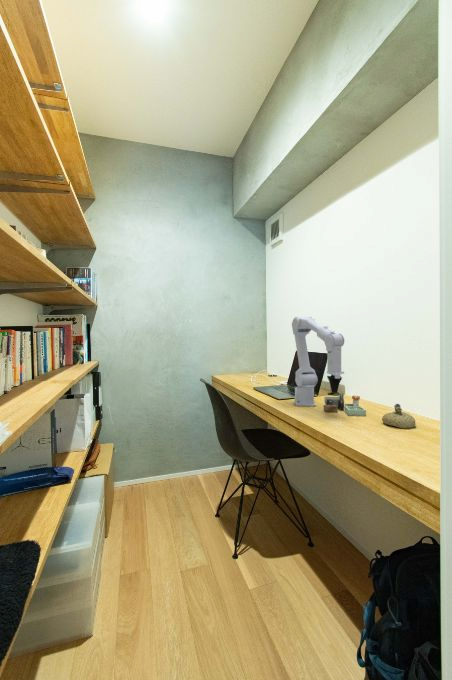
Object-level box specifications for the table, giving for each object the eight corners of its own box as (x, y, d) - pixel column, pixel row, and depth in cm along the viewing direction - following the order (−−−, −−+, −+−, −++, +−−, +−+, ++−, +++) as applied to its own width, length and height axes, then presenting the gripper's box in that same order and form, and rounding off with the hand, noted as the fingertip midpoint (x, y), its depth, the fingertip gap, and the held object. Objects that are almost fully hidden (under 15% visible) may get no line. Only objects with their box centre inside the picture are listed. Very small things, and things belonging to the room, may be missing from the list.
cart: (327, 410, 143) (327, 395, 143) (324, 405, 152) (324, 391, 152) (345, 410, 142) (345, 395, 141) (341, 405, 151) (341, 391, 151)
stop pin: (353, 412, 135) (353, 396, 135) (350, 410, 138) (351, 395, 138) (360, 413, 135) (361, 397, 135) (357, 411, 138) (358, 395, 138)
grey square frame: (347, 410, 143) (347, 406, 143) (344, 407, 149) (344, 403, 148) (360, 410, 142) (360, 406, 142) (357, 407, 148) (357, 404, 148)
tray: (348, 415, 134) (348, 409, 134) (344, 411, 141) (344, 405, 141) (366, 416, 132) (366, 410, 132) (361, 411, 140) (361, 406, 140)
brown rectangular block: (327, 413, 138) (327, 406, 138) (323, 411, 142) (323, 404, 142) (337, 412, 139) (337, 406, 139) (334, 411, 142) (334, 404, 142)
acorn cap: (419, 425, 121) (400, 404, 126) (419, 422, 112) (398, 399, 118) (397, 439, 123) (379, 418, 128) (396, 437, 114) (377, 414, 120)
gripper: (347, 363, 126) (347, 396, 127) (340, 360, 141) (340, 389, 141) (329, 363, 128) (329, 395, 128) (324, 360, 142) (324, 389, 142)
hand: (334, 392), depth 135 cm, fingers closed
